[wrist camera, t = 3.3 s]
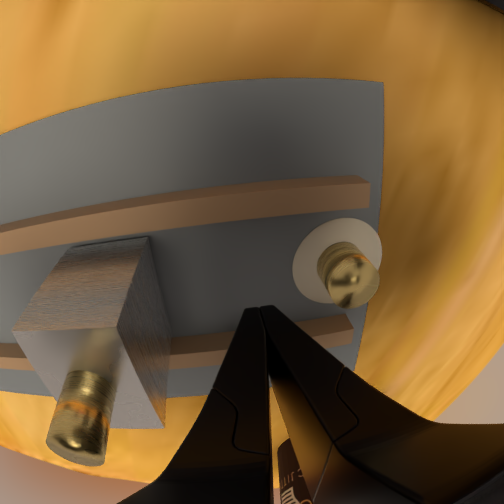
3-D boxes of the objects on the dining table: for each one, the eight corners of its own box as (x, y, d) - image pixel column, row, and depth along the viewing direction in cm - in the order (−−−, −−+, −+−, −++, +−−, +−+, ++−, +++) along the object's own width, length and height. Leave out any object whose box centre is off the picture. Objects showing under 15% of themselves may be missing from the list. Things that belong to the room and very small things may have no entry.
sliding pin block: (148, 236, 10) (94, 404, 4) (172, 331, 12) (162, 488, 6) (68, 248, 10) (-22, 391, 4) (102, 336, 11) (64, 478, 6)
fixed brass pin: (363, 238, 11) (383, 259, 10) (358, 280, 12) (375, 303, 11) (316, 244, 11) (332, 267, 10) (315, 287, 12) (328, 312, 10)
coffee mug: (306, 472, 23) (331, 563, 15) (238, 455, 20) (256, 574, 11) (417, 406, 20) (466, 503, 12) (372, 374, 17) (440, 514, 8)
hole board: (374, 83, 10) (407, 83, 8) (351, 353, 16) (366, 383, 14) (-85, 180, 8) (-112, 195, 6) (3, 376, 14) (-9, 401, 12)
